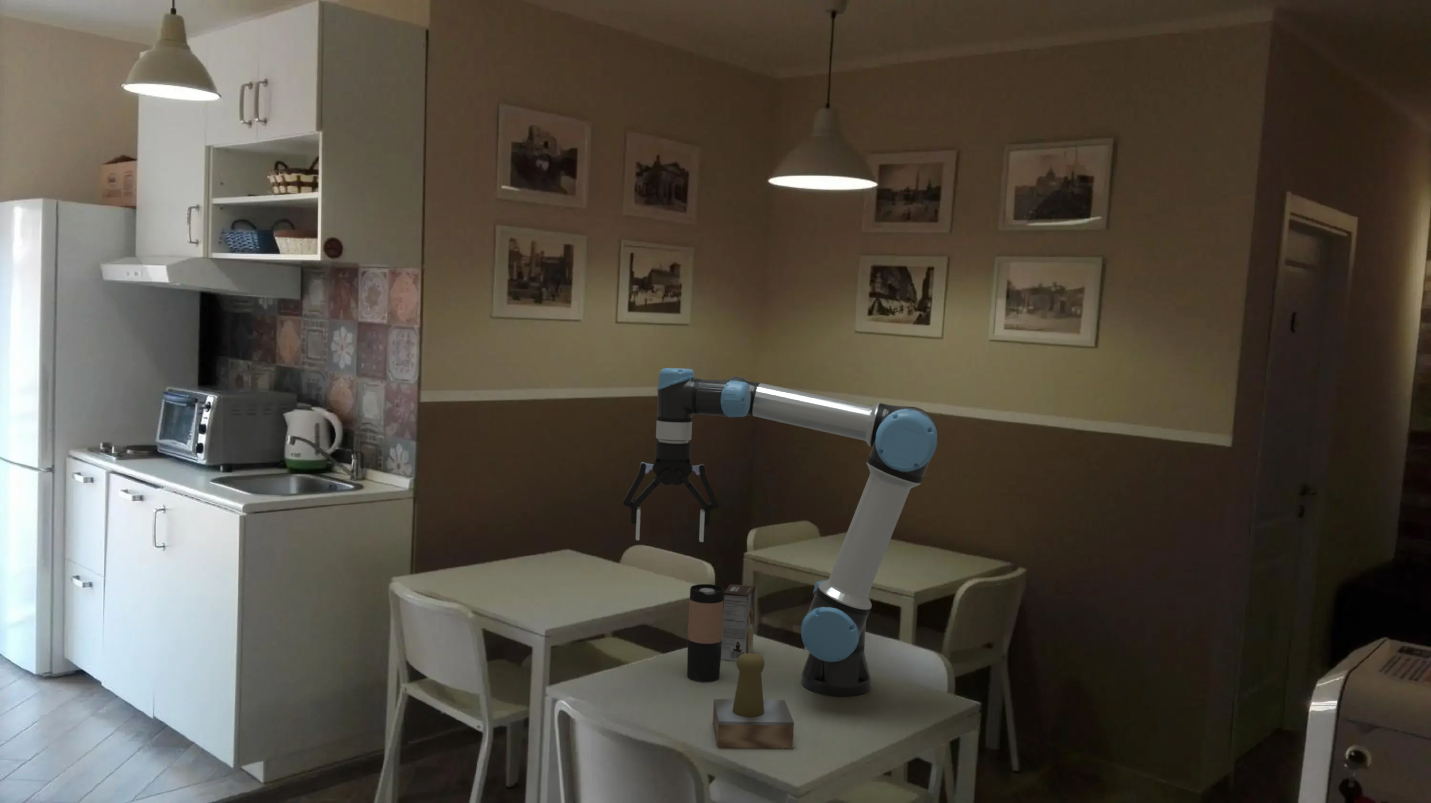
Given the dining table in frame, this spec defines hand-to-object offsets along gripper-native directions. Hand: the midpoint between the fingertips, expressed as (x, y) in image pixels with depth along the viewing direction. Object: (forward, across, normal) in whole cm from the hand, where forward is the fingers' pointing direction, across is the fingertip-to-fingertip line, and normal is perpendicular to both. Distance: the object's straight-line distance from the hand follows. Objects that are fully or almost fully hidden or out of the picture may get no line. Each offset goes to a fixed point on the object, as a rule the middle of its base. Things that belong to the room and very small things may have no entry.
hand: (669, 539), depth 231 cm
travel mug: (+32, -9, -6) cm, 34 cm away
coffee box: (+32, -18, -22) cm, 43 cm away
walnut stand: (+32, -16, +28) cm, 45 cm away
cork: (+27, -15, +29) cm, 42 cm away
